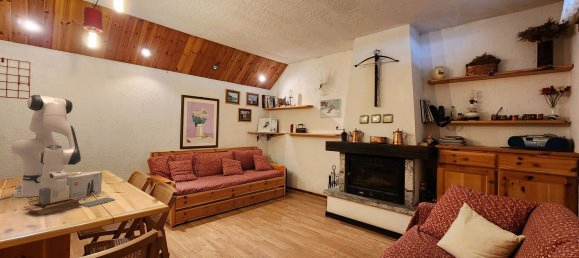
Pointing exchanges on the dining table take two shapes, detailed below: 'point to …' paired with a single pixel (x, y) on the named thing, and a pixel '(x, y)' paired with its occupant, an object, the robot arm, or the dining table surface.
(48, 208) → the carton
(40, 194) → the box
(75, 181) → the skincare box
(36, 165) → the robot arm
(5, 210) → the dining table surface
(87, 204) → the felt mat
